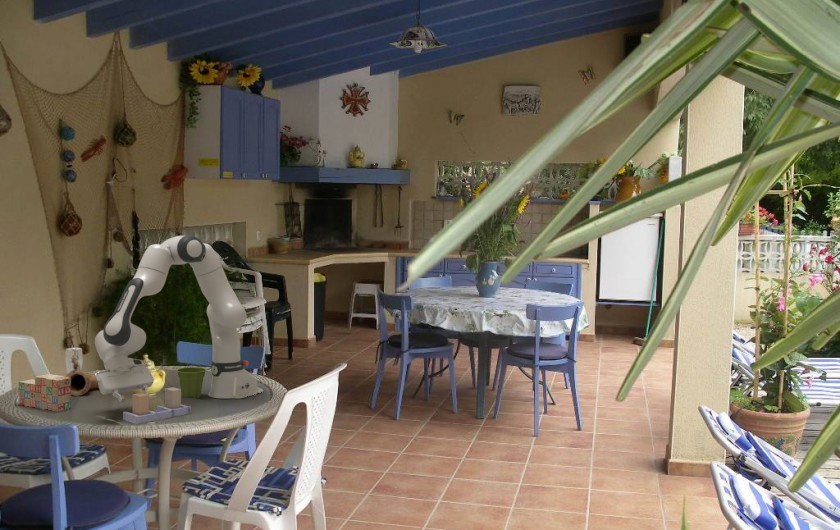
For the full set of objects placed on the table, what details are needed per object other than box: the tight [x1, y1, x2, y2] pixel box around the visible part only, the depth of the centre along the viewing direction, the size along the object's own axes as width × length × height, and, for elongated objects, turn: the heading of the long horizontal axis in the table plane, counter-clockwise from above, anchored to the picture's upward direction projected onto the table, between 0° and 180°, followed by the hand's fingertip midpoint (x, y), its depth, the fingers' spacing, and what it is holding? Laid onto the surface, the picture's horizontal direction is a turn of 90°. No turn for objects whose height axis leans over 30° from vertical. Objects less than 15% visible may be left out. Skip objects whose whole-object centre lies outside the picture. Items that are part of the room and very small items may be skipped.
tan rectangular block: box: [131, 392, 150, 416], centre depth 320 cm, size 4×5×9 cm
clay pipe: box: [65, 369, 99, 397], centre depth 366 cm, size 19×11×15 cm
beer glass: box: [64, 347, 84, 374], centre depth 383 cm, size 7×7×15 cm
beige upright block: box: [164, 386, 182, 409], centre depth 330 cm, size 4×5×9 cm
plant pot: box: [175, 366, 207, 399], centre depth 360 cm, size 12×12×11 cm
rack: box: [122, 403, 192, 425], centre depth 325 cm, size 22×10×4 cm, turn 139°
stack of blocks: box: [18, 373, 72, 413], centre depth 340 cm, size 21×6×12 cm, turn 63°
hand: (134, 399), depth 322 cm, fingers open, 8 cm apart
